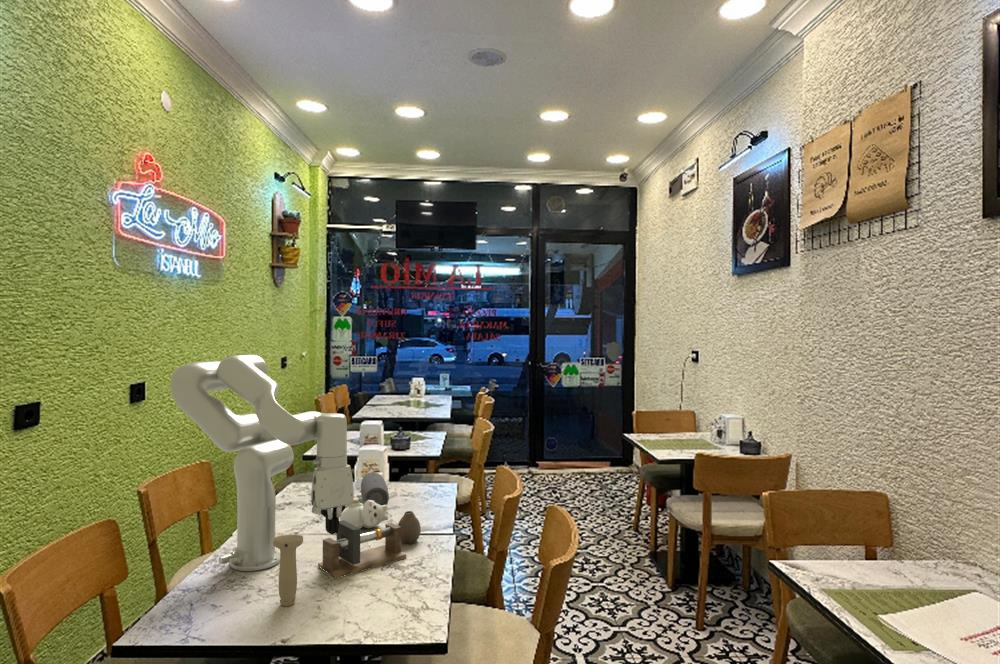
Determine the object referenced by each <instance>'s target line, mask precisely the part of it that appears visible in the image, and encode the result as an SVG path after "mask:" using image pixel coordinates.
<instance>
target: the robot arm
mask: <svg viewBox="0 0 1000 664" xmlns="http://www.w3.org/2000/svg"><path fill="white" fill-rule="evenodd" d="M268 372H269V371H268V365H267V362H266V361H265V360H264V359H263V358H262V357H260V356H259V355H257V354H236V355H235V354H234V355H229V356H226V357H225V358H223V359H221V360H212V361H211V360H208V361H196V362H195V361H194V362H188V363H185V364H183V365H180V366H178V367H177V368H176V369H175V370H174V371H173V373H172V374H171V377H170V384H169V385H170V386H169V387H170V393H171V397H172V399H173V401H174V403H175V404H176V406H177V407H178V408H179V409H180V411H182V412H183V414H185V415H186V416H187V417H189V418H190V419H191V420H192V421H193V422H194V423H195V424H196V425H197V426H198V428H200V430H201V431H202V432H203V433H204V434H205V435H206V436H207V437H208V438H209V439H210V441H212V442H213V444H215V446H217V447H218V448H219V450H221V451H223V452H225V453H235V452H238V451H239V452H238V453H237V455H236V456H235V459H234V461H233V472H234V477H235V483H236V490H237V491H236V494H237V495H236V496H237V498H236V499H237V500H236V501H237V502H236V505H237V510H236V511H237V512H236V513H237V515H236V516H237V521H236V524H237V525H236V526H237V527H236V530H237V531H236V547H234V548H233V549H232V551H231V552H230V553H229V554H227V555H226V554H225V555H223V556H219V557H218V564H219V565H220V566H221V565H225V564H227V563H228V564H229V565H230V567H231V568H232V569H233V570H236V571H241V572H255V571H261V570H262V571H263V570H266V569H269V568H272V567H274V566H276V565H278V564H280V552H278V551H277V550H276V547H275V546H274V545H273V539H274V538H275V537H276V507H277V506H276V504H277V503H276V501H277V500H276V499H277V498H276V496H277V495H276V490H275V485H274V484H273V481H272V477H273V476H275V475H277V474H280V473H282V472H285V471H286V470H288V469H289V468H290V467H291V466H292V464H293V462H294V451H293V448H292V446H296V445H300V444H303V443H305V442H310V441H313V440H314V441H315V440H316V457H315V459H313V460H312V461H311V465H312V466H316V467H315V468H314V471H313V474H312V482H311V493H310V496H311V497H310V501H311V503H310V504H311V506H312V507H311V513H313V514H315V515H322V516H323V517H324V518H325V531H326V532H327V533H328V534H330V535H335V534H336V535H337V533H338V528H339V521H340V516H341V514H342V512H343V511H345V510H346V509H348V508H349V507H350V506H351V505H352V502H353V500H355V491H354V490H355V489H354V480H353V474H352V473H353V472H352V469H351V465H350V464H348V449H347V448H348V444H347V443H348V436H347V435H348V432H347V431H348V429H347V427H348V426H347V425H348V423H347V422H348V421H347V416H346V415H345V414H344V413H336V412H334V413H325V412H320V411H315V410H314V411H313V410H311V411H305V412H299V413H295V414H292V413H290V412H288V411H287V410H286V409H285V408H284V407H282V406H281V405H280V404H279V403H278V402H277V400H276V397H277V395H278V394H279V390H280V387H279V384H278V383H277V382H276V381H275V380H273V379H272V378H271V377H269V376H268ZM229 389H230V390H231V391H232V392H234V393H235V394H236V395H237V396H238V397H240V398H241V399H243V400H244V401H245V402H246V403H247V404H249V405H250V406H251V407H252V408H254V413H244V414H236V413H234V412H232V410H230V409H229V407H228V406H226V404H225V403H223V401H221V400H220V399H219V398H217V397H215V396H213V395H211V394H210V393H209V392H215V391H223V390H229Z"/></svg>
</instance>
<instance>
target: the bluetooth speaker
mask: <svg viewBox="0 0 1000 664" xmlns="http://www.w3.org/2000/svg"><path fill="white" fill-rule="evenodd" d="M360 493H361V500H362V503H363V504H365V502H366V501H367V500H373V501H374V502H375V503H377V504H379V505H381V506H382V505H387V506H388V503H389V500H390V495H389V488H388V486H387V482H386V481H385V478H384V477H383V476H382V475H381V474H380V473H378V472H374V471H372V472H368V473H366V474H365V475H364V476H363V477H362V479H361V483H360Z"/></svg>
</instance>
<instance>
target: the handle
mask: <svg viewBox="0 0 1000 664" xmlns="http://www.w3.org/2000/svg"><path fill="white" fill-rule="evenodd" d="M303 543H304V536H303V535H301V534H284V535H279V536H275V538H274V539H273V545H274V546H275V549H279V550H280V552H279V553H280V562H279V570H278V595H279V598H280V599H279V604H280V606H283V607H286V608H287V607H290V606H293V605H294V604H295V602H296V595H297V588H298V587H297V586H298V570H297V569H298V568H297V548H298V547H300V546H302V544H303Z"/></svg>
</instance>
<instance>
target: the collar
mask: <svg viewBox="0 0 1000 664" xmlns="http://www.w3.org/2000/svg"><path fill="white" fill-rule="evenodd" d="M360 534H361V528H358V527H356V526H354V525H352V524H350V523H348V522H346V521H344V520H342V521H340V520H339V528H338V533H336V540H339V539H343V538H347V537H348V547H346V548H342V549H339V557H340V558H342V559H344V560H346V561H347V562H349V563H351V564H352V565H355V564H358V563H360V552H361V544H360Z"/></svg>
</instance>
